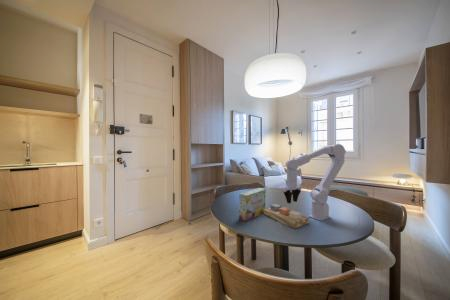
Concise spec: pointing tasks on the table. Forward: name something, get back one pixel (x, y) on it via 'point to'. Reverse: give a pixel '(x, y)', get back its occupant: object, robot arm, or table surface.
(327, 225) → the table surface
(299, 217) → the cream key
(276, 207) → the slate key
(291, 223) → the key console
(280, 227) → the table surface
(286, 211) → the terracotta key
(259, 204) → the snack box
